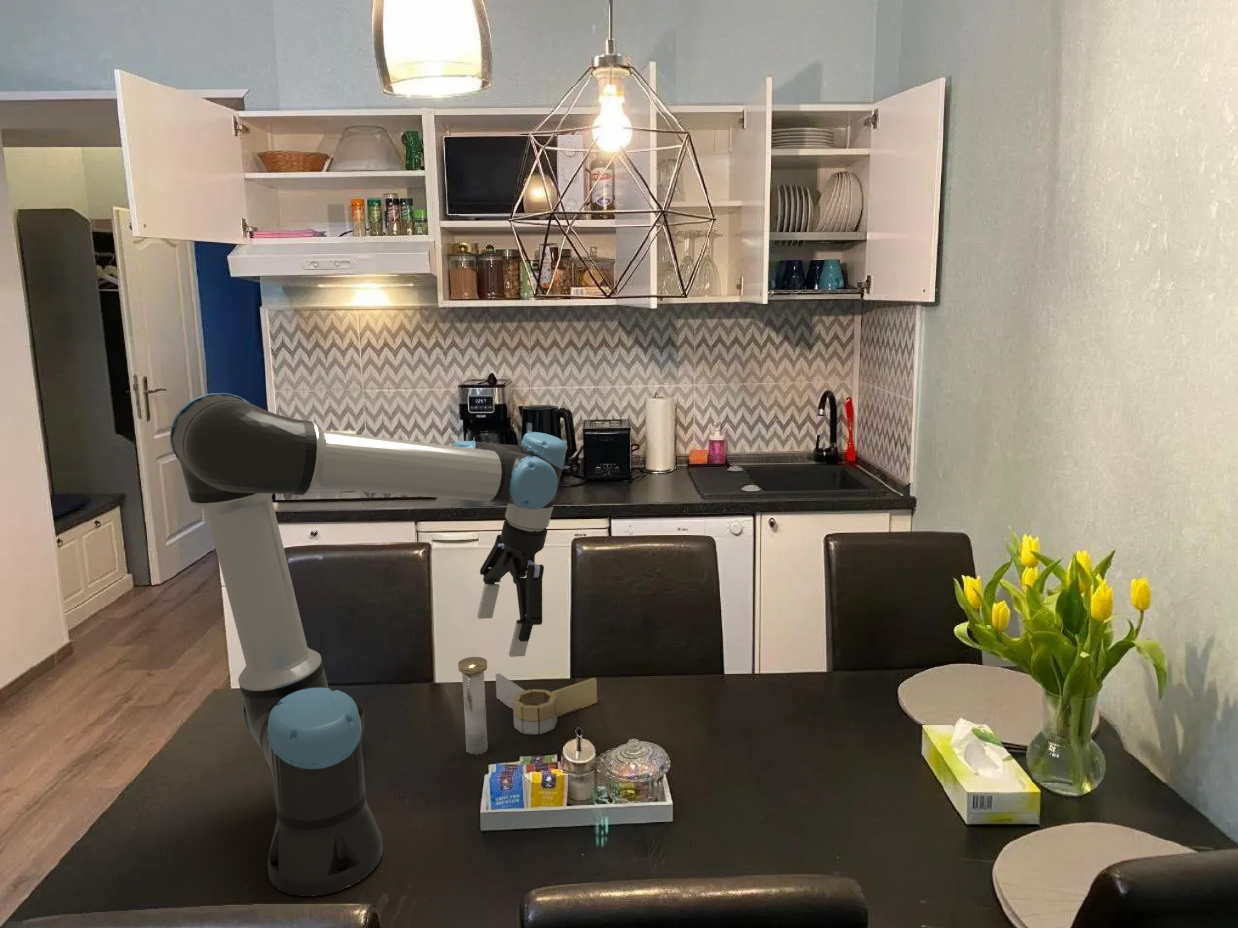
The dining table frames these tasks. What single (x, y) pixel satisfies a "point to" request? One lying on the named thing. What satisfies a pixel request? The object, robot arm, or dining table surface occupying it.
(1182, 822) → the dining table surface
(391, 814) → the dining table surface
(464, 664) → the hinge pin
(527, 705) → the ring holder
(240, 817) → the dining table surface
